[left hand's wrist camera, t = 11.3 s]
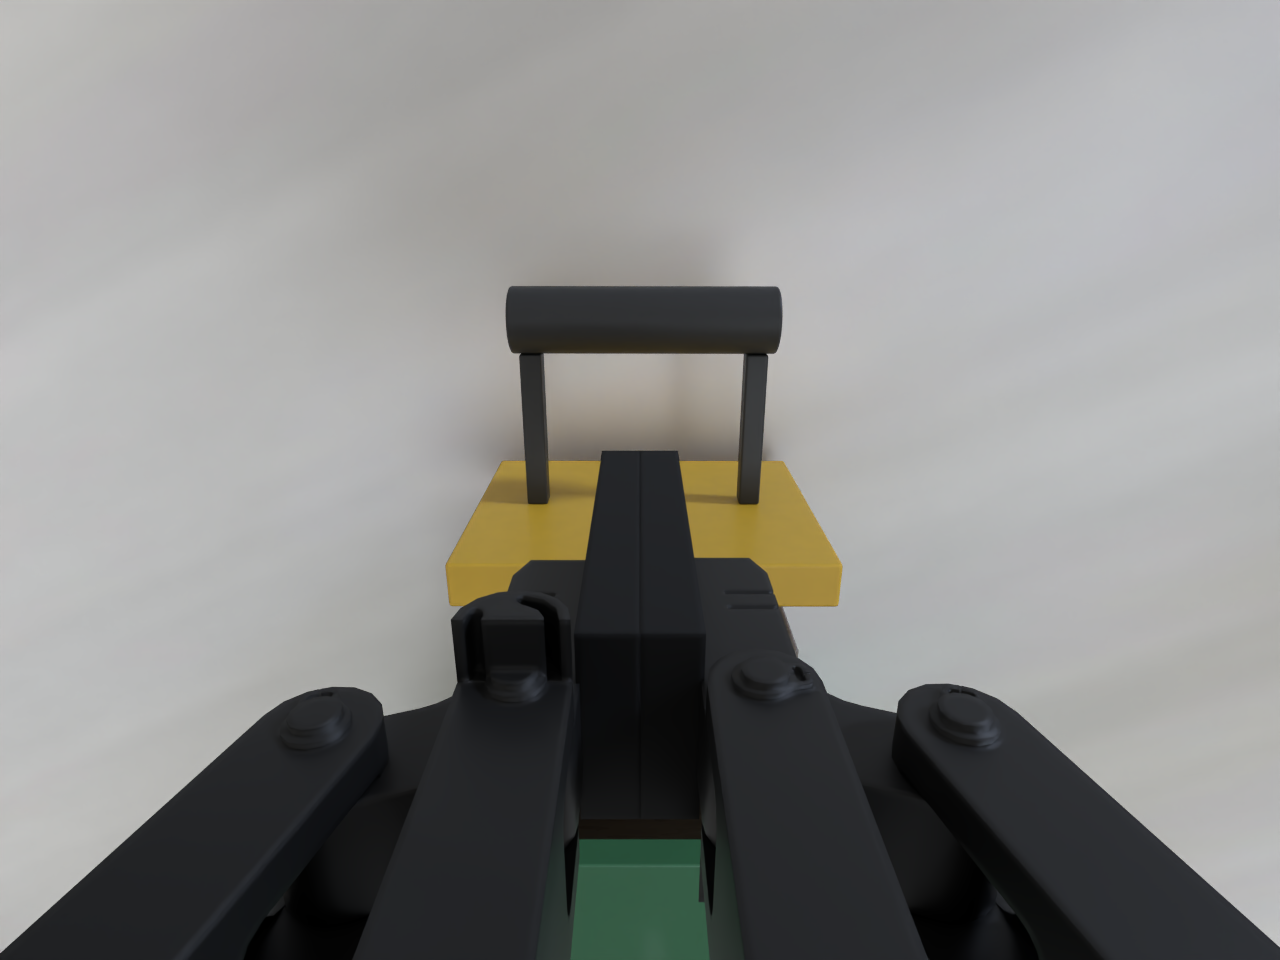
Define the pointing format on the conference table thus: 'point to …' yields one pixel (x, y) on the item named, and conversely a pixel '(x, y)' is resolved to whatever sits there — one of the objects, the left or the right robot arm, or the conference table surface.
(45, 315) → the conference table surface
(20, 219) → the conference table surface
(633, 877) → the cabinet
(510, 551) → the drawer
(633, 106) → the conference table surface
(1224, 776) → the conference table surface
